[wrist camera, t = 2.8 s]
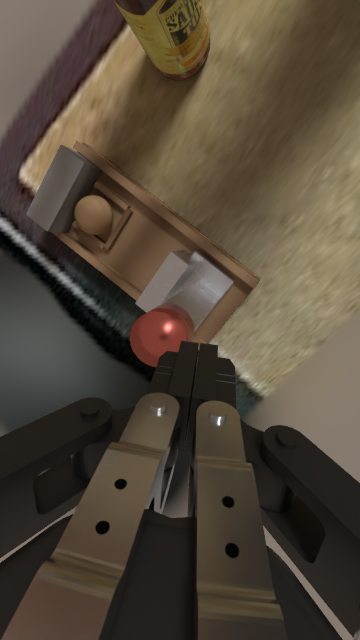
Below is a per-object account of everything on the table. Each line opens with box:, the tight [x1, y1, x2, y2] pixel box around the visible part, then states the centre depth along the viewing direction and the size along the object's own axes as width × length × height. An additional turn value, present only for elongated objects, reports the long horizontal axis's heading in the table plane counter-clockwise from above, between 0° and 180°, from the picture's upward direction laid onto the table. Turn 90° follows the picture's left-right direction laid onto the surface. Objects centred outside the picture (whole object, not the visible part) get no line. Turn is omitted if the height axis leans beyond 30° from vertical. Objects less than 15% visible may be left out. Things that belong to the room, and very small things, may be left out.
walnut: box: [74, 195, 113, 235], centre depth 36 cm, size 4×4×4 cm
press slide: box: [130, 250, 235, 367], centre depth 29 cm, size 6×7×16 cm
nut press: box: [26, 141, 260, 350], centre depth 37 cm, size 24×10×6 cm, turn 53°
